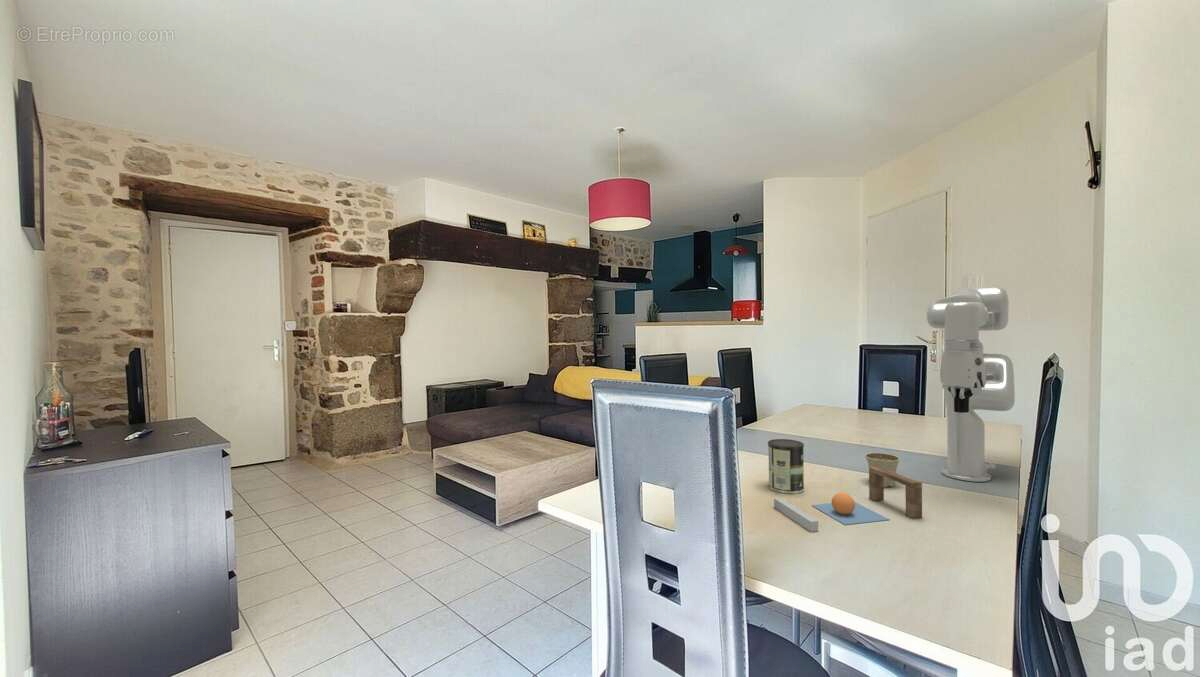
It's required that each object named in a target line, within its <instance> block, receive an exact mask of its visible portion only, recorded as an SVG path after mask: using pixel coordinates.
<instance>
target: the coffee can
mask: <svg viewBox="0 0 1200 677" xmlns="http://www.w3.org/2000/svg"><path fill="white" fill-rule="evenodd" d="M767 445H768V448H767V449H768V488H769V489H770V490H772V491H774V492H777V493H780V492H781V494H789V495H790V494H792V495H794V494H795V495H796V494H801V493H803V492H804V491H805V477H804V476H805V475H804V474H805V473H804V466H805V465H804V458H805V457H804V456H805V455H804V447H805V444H804V443H803V442H802V441H799V440H795V439H794V440H793V439H789V438H787V439H786V438H776V439H774V438H773V439H770V440H768V441H767Z"/></svg>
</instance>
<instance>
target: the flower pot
mask: <svg viewBox="0 0 1200 677" xmlns="http://www.w3.org/2000/svg"><path fill="white" fill-rule="evenodd" d="M864 457H865V459H866V462H867V464H868V468H869V467H874V466H879V467H882V468H884V469H887V470H890V471H893V472H895V473H897V470H898V469H897V468H898V465H899V462H900V461H901V458H900V456H898V455H894V454H889V453H883V452H868V453H865V454H864ZM895 483H896V482H895V481H893V480H890V479H888V478H885V477H884V488H888V487H894V486H895Z"/></svg>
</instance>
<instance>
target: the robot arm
mask: <svg viewBox="0 0 1200 677" xmlns="http://www.w3.org/2000/svg"><path fill="white" fill-rule="evenodd" d="M1009 306H1010V304H1009V296H1008V294H1007V291H1006V290H1005V288H1003V287H1001V286H998V285H997V286H996V285H991V286H974V287H973V286H972V287H963V288H960V289H957V290H956V291H954V293H952V295H949V296H946V297H945V296H944V297H941V298H937V299H934V300H932V301H931V302H930V304H929V306H928V308H927V311H926V320H927V323H928V325H929V326H930V327H931V328H934V329H944V350H943V352H942V355H941V361H940V368H939V369H940V370H939V371H940V372H939V375H940V376H939V380H940V383H941V384H942V386H941V387H942V389H943V396H944V400H945V406H946V414H947V415H946V416H947V418H946V420H947V425H946V426H947V427H946V429H947V430H946V431H947V433H946V434H947V440H946V441H947V444H946V445H947V448H946V449H947V450H946V452H947V454H946V455H947V457H946V458H947V464H946V465H947V466H945V467H943V468H941V473H942V475H944V476H946V477H948V478H951V479H956V480H961V481H966V482H974V483H975V482H976V483H977V482H978V483H983V482H990V481H991V479H992V476H991V474H990V473H988V470H991V471H992V470H996V468H997V466H996V464H995V463H992V462H991V463H987V462H985V456H986V455H985V450H986V449H985V443H986V442H985V440H986V439H985V438H986V437H985V436H986V434H985V430H986V429H985V422H984V420H983V419H982V418H981V416H979V415H978V413H976V412H975V410H976V411H977V410H978V411H979V410H981V411H991V412H992V411H995V412H996V411H997V412H1007V411H1010V410H1012V409H1013V407H1014V406H1015V400H1016V399H1015V398H1016V397H1015V396H1016V393H1015V372H1014V365H1013V364H1014V363H1013V362H1012V359H1011V358H1010V357H1009V356H1008V355H1006V354H1002V353H984V345H983V343H982V342H981V341H980V337H979V336H980V335H979V334H980V331H981V332H982V331H987V332H988V331H1001V330H1003V329H1005V328H1006V327H1007V326H1008V323H1009Z"/></svg>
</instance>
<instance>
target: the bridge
mask: <svg viewBox="0 0 1200 677" xmlns="http://www.w3.org/2000/svg"><path fill="white" fill-rule="evenodd" d="M884 477H885V478H888V479H890V480H893V481H895V483H898V484H901V485H903V486H905V517H907V518H909V519H911V520H915V519H923V482H922V481H919V480H916V479H914V478H911V477H908V476H906V475H903V474H901V473H898V472H896V473H895V472H893V471H890V470H887V469H884V468H882V467H879V466H874V467H869V466H868V490H869V492H868V497H869V500H871V501H873V502H882V501H884V500H885V487H884Z"/></svg>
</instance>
